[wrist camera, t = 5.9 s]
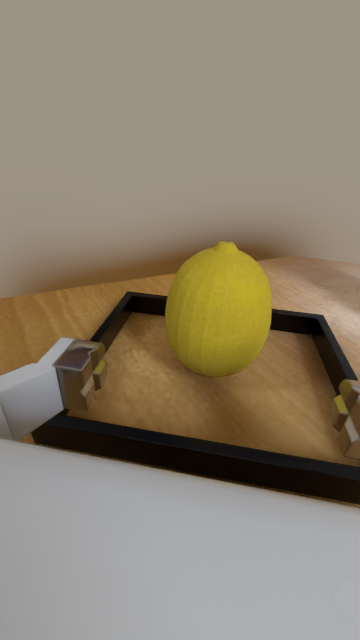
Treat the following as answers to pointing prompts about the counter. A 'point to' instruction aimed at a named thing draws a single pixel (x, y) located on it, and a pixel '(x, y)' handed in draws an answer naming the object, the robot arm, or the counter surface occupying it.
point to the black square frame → (209, 455)
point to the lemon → (218, 311)
